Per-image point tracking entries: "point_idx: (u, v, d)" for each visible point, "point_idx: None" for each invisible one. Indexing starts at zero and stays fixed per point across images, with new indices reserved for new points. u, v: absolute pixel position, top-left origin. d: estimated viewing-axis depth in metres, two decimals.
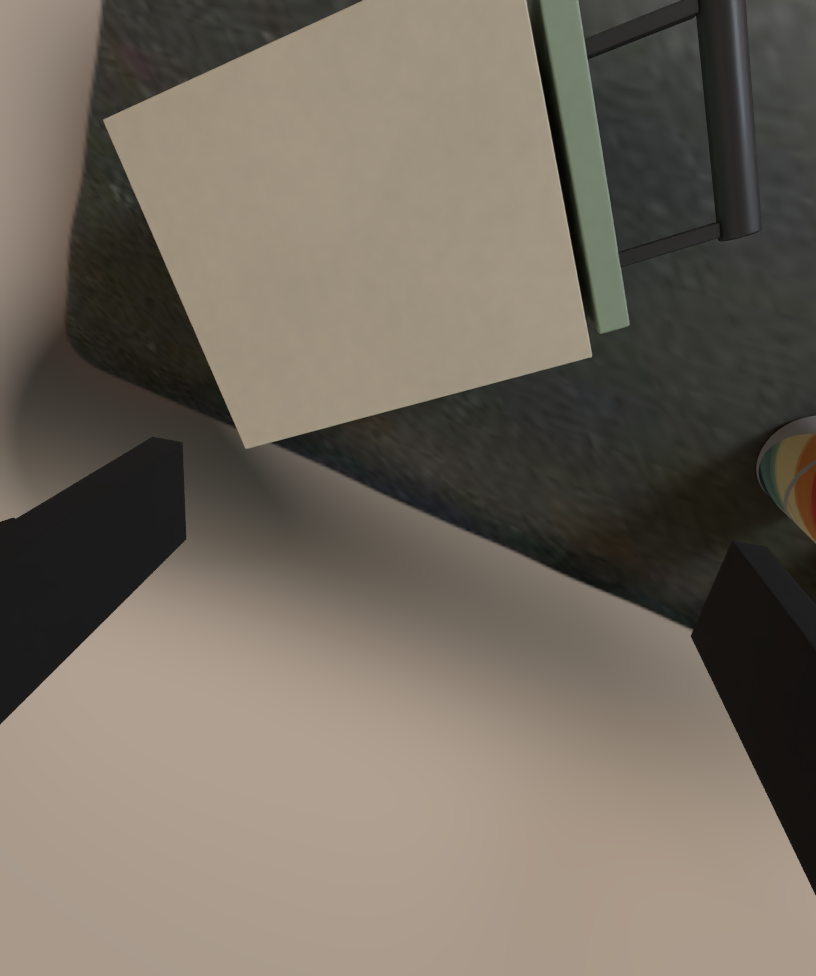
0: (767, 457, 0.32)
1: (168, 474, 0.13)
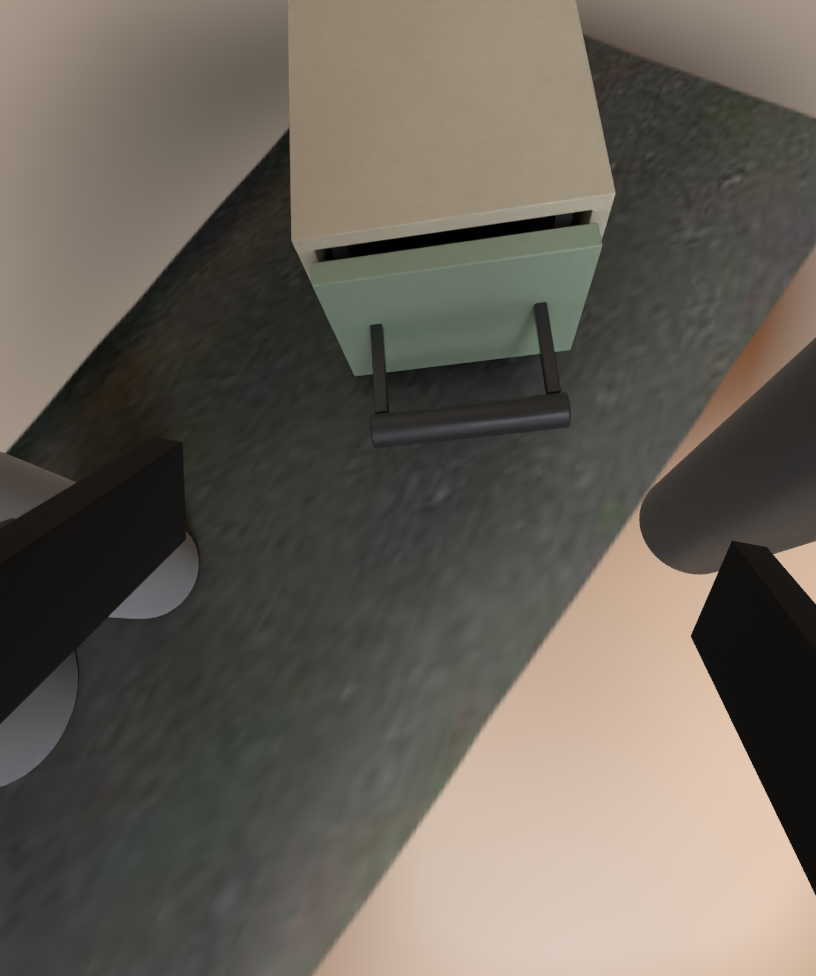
0: None
1: (168, 474, 0.13)
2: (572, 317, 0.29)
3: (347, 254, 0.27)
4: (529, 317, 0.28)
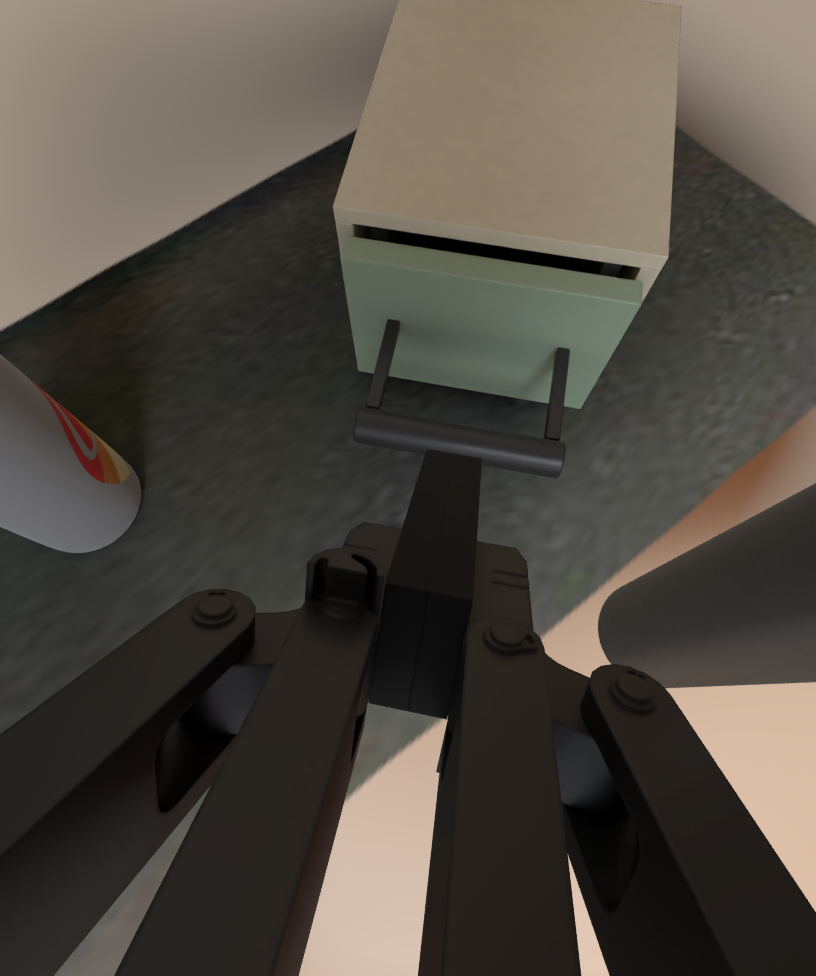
0: None
1: None
2: (591, 374, 0.28)
3: (386, 241, 0.26)
4: (548, 360, 0.27)
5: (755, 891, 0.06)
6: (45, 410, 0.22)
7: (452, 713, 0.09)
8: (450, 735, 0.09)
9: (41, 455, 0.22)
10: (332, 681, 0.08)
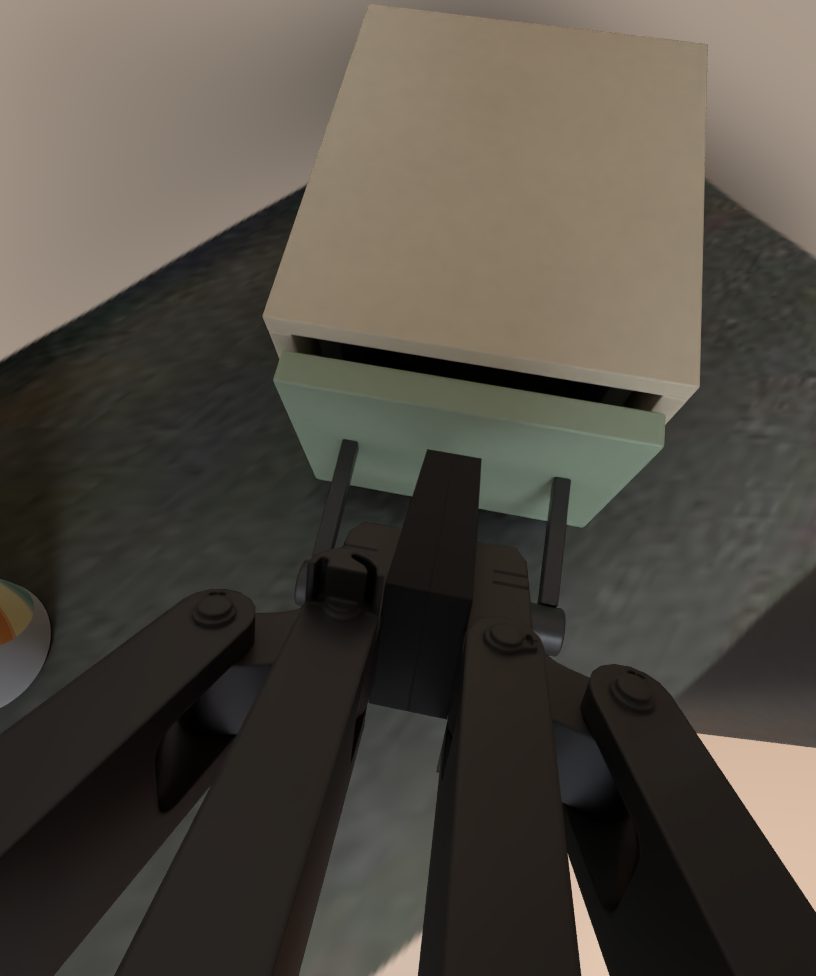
0: (22, 591, 0.24)
1: None
2: (597, 501, 0.22)
3: (337, 347, 0.20)
4: (544, 486, 0.22)
5: (756, 891, 0.06)
6: None
7: (452, 713, 0.09)
8: (450, 735, 0.09)
9: None
10: (332, 681, 0.08)
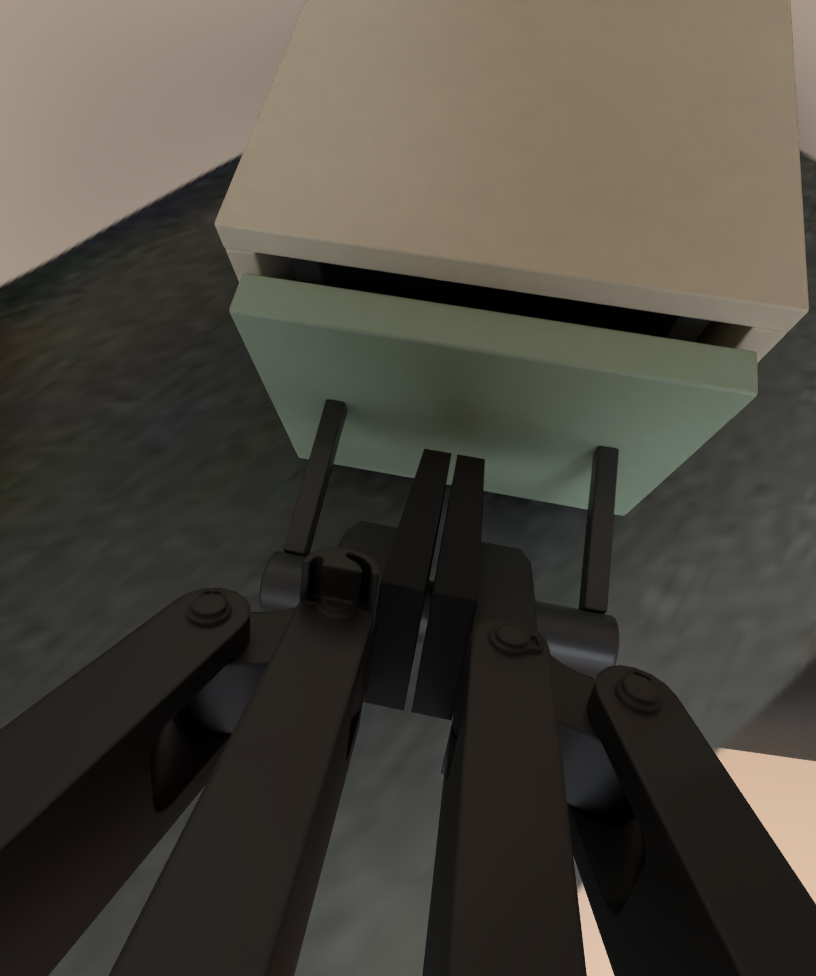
0: None
1: (446, 482, 0.15)
2: (648, 479, 0.18)
3: (318, 278, 0.16)
4: (581, 461, 0.17)
5: (762, 893, 0.06)
6: None
7: (457, 714, 0.09)
8: (455, 736, 0.09)
9: None
10: (327, 680, 0.08)
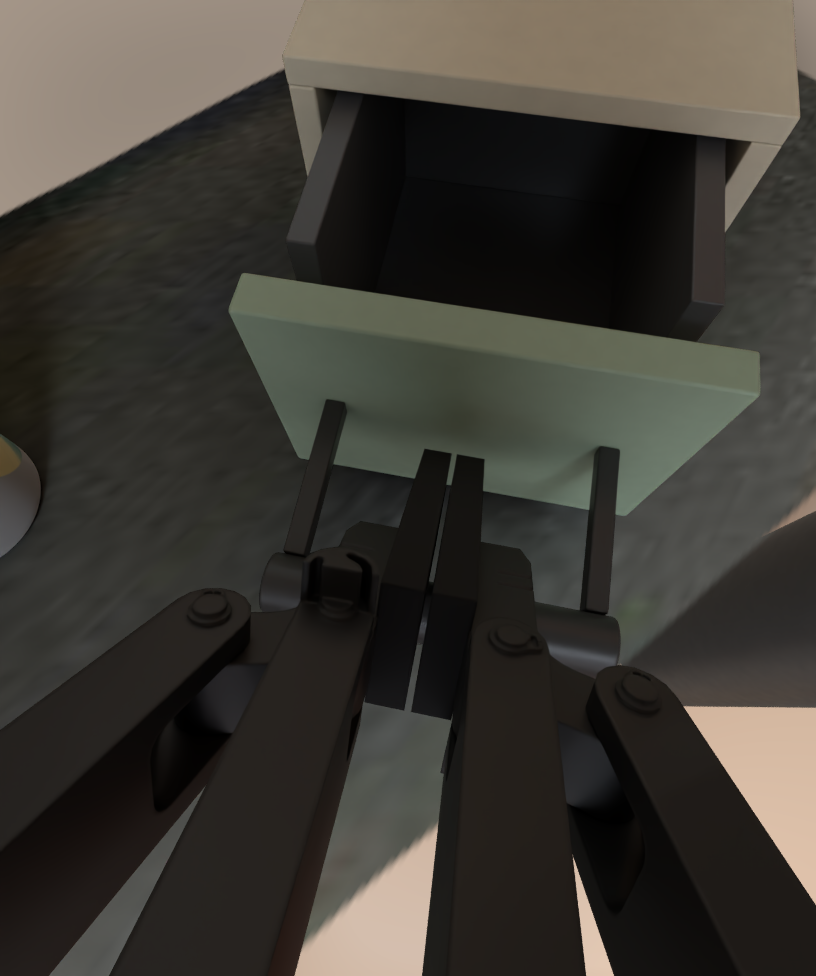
0: (9, 440, 0.22)
1: (446, 482, 0.15)
2: (649, 480, 0.18)
3: (318, 277, 0.16)
4: (582, 461, 0.17)
5: (762, 893, 0.06)
6: None
7: (457, 714, 0.09)
8: (455, 736, 0.09)
9: None
10: (328, 680, 0.08)
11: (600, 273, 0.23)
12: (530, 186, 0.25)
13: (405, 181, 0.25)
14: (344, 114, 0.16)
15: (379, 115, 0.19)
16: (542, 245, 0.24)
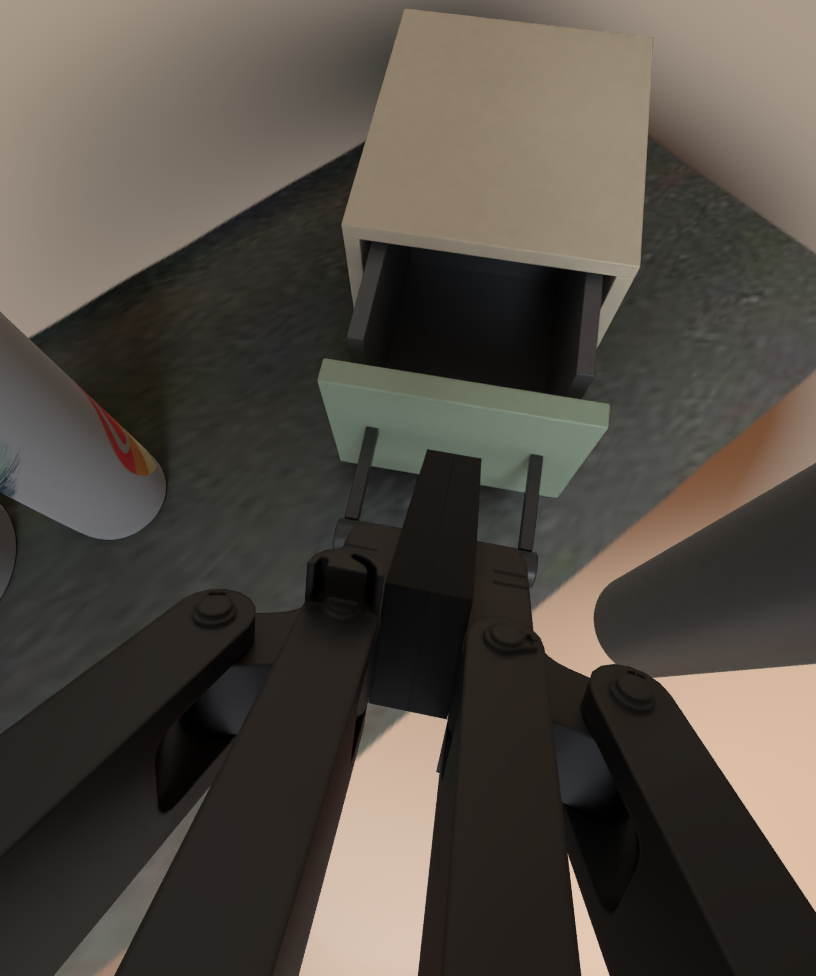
0: None
1: None
2: (565, 474, 0.29)
3: (363, 355, 0.26)
4: (523, 462, 0.28)
5: (756, 892, 0.06)
6: (88, 408, 0.25)
7: (452, 713, 0.09)
8: (450, 735, 0.09)
9: (85, 448, 0.25)
10: (332, 681, 0.08)
11: (544, 333, 0.34)
12: (496, 270, 0.35)
13: (409, 265, 0.36)
14: (377, 255, 0.27)
15: None
16: (504, 313, 0.35)
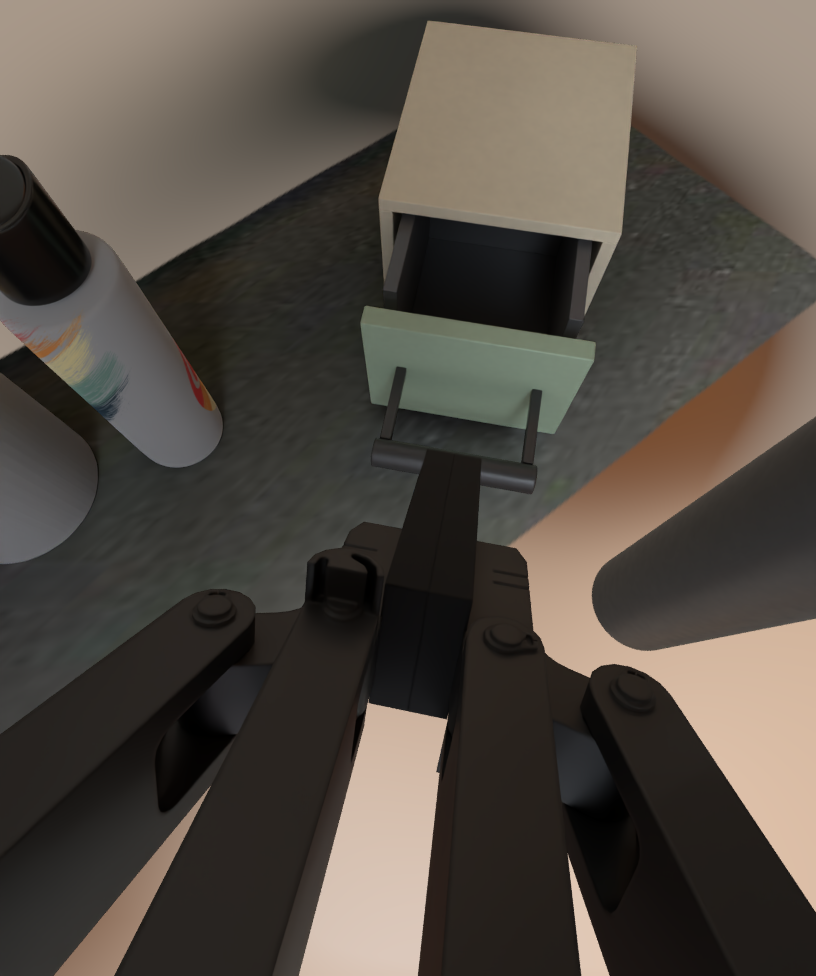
0: None
1: None
2: (560, 408, 0.34)
3: (395, 306, 0.32)
4: (526, 398, 0.34)
5: (756, 892, 0.06)
6: (174, 346, 0.31)
7: (452, 713, 0.09)
8: (450, 735, 0.09)
9: (172, 377, 0.31)
10: (332, 681, 0.08)
11: (544, 297, 0.40)
12: (504, 244, 0.41)
13: (429, 240, 0.42)
14: (406, 225, 0.33)
15: (420, 217, 0.35)
16: (510, 280, 0.41)
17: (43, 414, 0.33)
